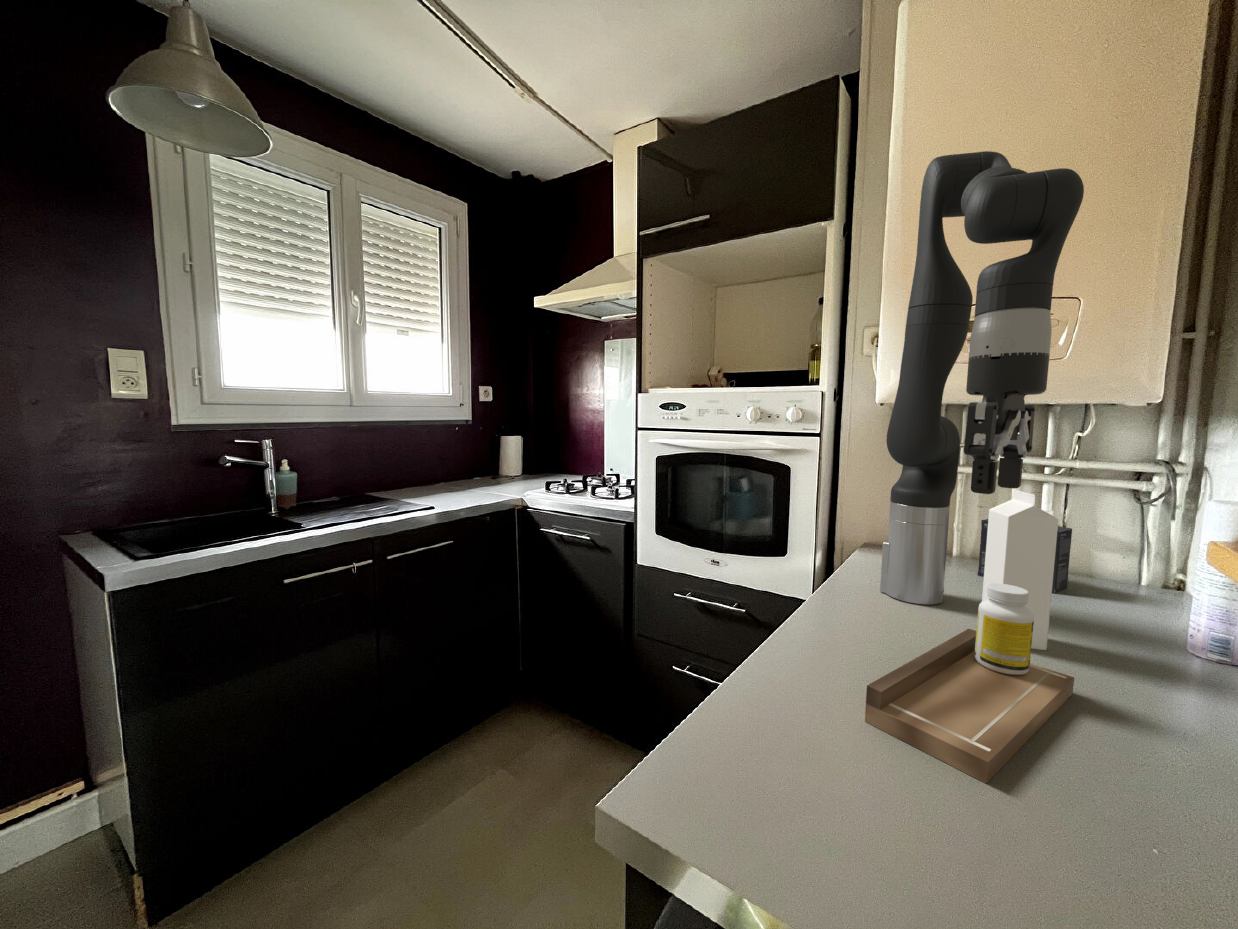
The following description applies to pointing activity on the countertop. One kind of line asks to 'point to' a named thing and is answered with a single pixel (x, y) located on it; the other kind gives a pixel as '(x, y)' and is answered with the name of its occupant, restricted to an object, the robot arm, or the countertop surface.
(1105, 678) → the countertop surface
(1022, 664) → the supplement bottle
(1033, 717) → the board
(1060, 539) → the small box
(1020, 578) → the milk
